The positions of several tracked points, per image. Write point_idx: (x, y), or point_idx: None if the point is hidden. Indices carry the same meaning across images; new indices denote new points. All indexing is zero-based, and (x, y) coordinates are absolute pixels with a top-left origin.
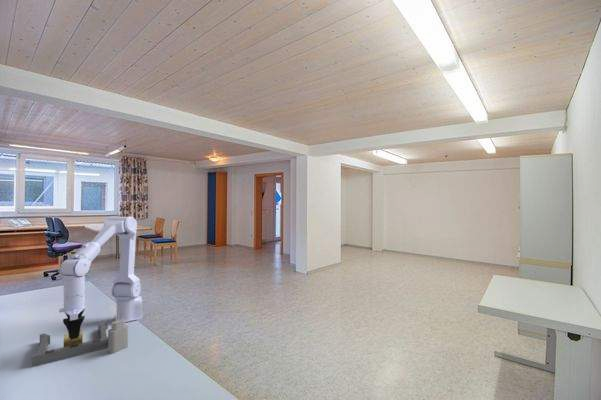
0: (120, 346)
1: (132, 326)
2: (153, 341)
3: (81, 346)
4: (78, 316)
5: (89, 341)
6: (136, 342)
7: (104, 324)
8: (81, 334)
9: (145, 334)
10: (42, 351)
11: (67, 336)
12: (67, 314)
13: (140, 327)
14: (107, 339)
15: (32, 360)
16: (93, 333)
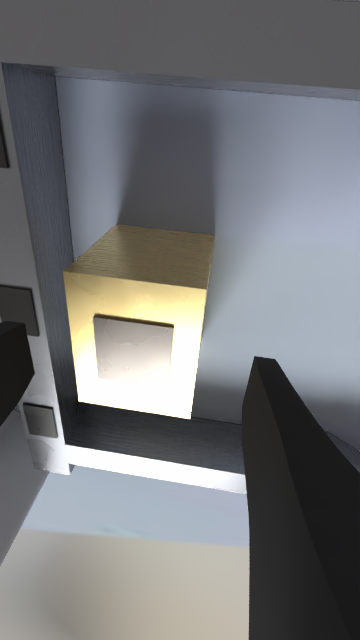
0: None
1: None
2: (29, 520)
3: None
4: (260, 568)
5: (49, 394)
6: (53, 491)
7: None
8: (97, 398)
9: (120, 528)
10: (19, 46)
11: (120, 308)
12: (321, 590)
13: (221, 543)
14: (32, 457)
15: None
16: (355, 413)
